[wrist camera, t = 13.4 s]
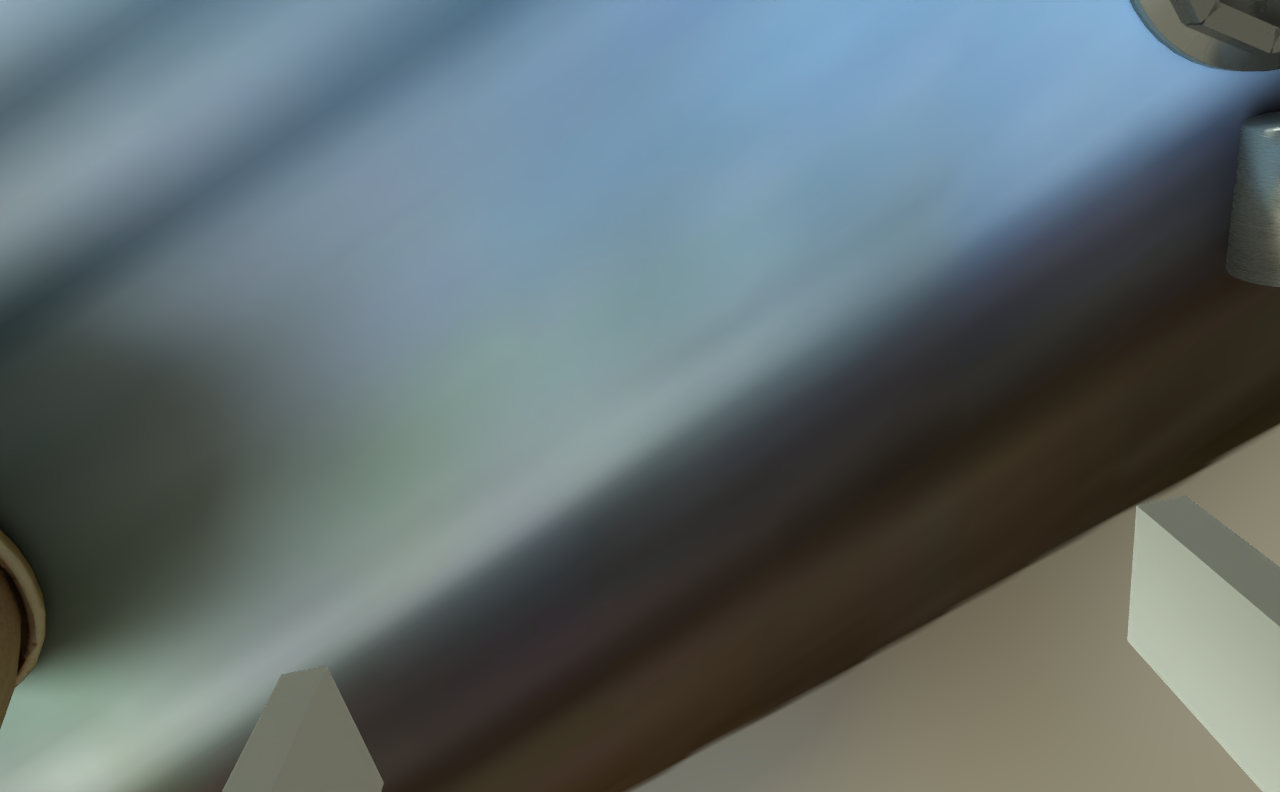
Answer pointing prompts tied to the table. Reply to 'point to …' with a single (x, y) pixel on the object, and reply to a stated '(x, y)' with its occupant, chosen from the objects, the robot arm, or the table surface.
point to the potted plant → (18, 620)
